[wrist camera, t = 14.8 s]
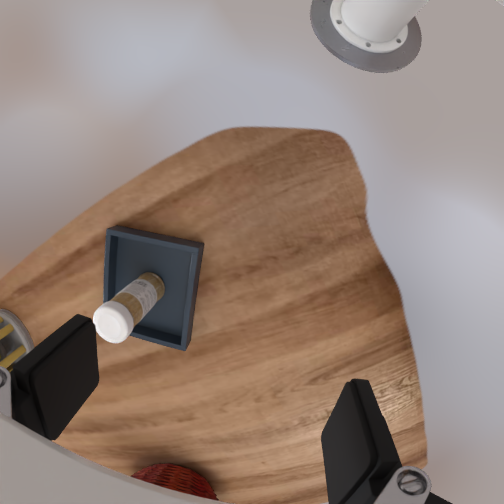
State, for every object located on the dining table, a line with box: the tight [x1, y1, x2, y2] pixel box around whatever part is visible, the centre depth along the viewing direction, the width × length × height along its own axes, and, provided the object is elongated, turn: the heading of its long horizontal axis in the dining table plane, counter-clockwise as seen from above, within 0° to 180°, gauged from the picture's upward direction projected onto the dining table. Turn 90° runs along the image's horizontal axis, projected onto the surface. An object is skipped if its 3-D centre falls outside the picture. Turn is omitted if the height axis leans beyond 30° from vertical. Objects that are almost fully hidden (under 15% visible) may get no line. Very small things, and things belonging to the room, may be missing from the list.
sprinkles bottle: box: [93, 272, 165, 343], centre depth 37 cm, size 5×5×13 cm
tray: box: [103, 225, 204, 351], centre depth 42 cm, size 16×14×3 cm
